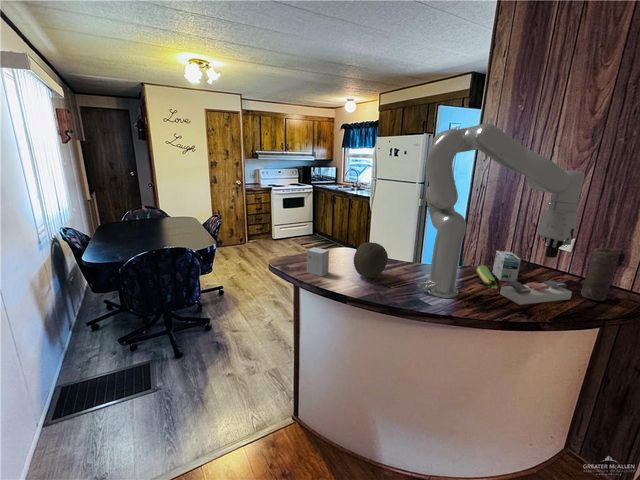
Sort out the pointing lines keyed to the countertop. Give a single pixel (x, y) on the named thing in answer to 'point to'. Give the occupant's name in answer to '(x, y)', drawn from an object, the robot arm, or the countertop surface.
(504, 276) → the light bulb box
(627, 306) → the countertop surface
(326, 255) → the small box
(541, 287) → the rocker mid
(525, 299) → the rocker switch panel
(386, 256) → the dark brown sphere
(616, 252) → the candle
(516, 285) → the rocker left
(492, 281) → the edible corn
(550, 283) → the rocker right
